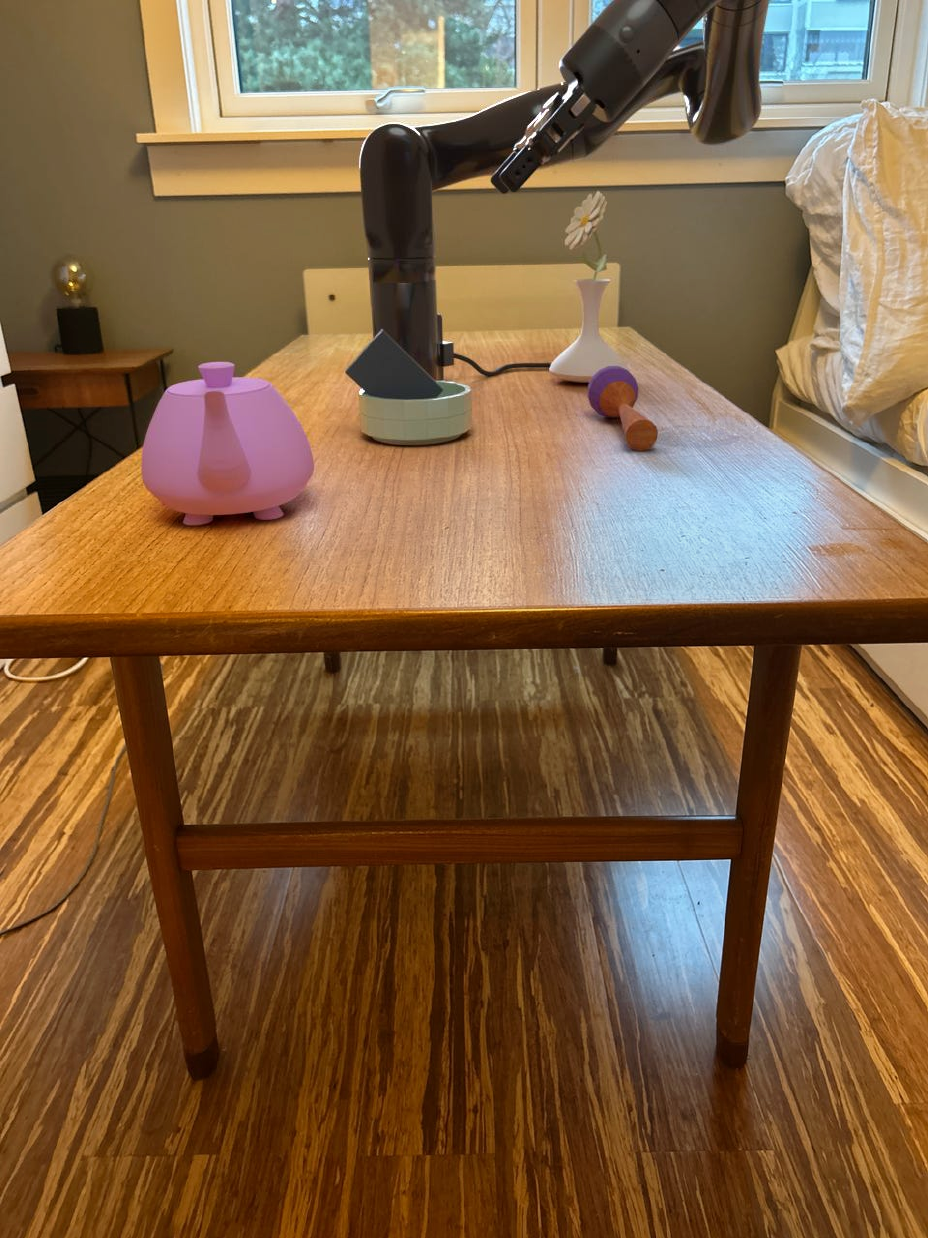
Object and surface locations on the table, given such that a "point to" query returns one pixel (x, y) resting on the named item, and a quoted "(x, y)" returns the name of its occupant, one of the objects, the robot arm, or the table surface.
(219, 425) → the teapot
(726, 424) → the table surface
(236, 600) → the table surface
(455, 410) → the bowl
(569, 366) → the flower in vase
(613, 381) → the kendama
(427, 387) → the dark gray rectangular block
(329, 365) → the table surface
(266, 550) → the table surface
